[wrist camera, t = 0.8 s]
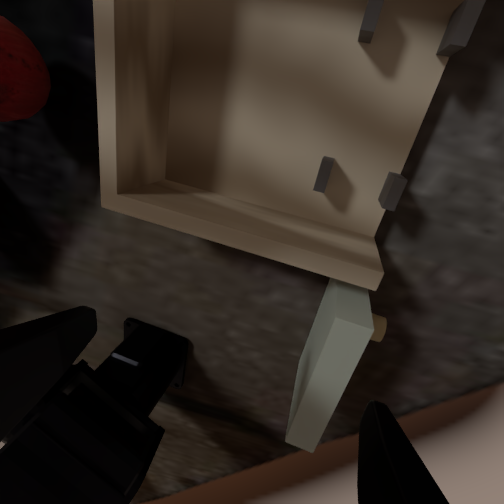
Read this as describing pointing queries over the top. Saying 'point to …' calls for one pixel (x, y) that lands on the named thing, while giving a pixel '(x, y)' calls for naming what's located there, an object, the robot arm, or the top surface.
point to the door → (330, 359)
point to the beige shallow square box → (269, 118)
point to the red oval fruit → (20, 75)
